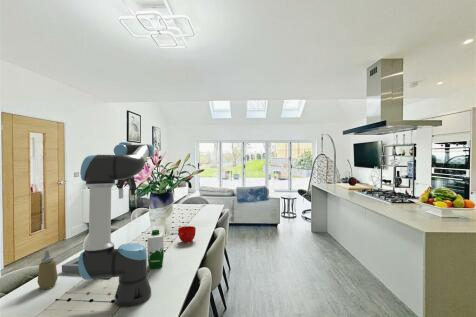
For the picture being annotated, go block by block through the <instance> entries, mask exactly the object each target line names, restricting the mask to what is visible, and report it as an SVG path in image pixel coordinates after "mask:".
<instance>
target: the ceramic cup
mask: <svg viewBox="0 0 476 317" xmlns="http://www.w3.org/2000/svg"><path fill="white" fill-rule="evenodd" d="M196 230H197V229H196V227H195V226H192V225H191V226H190V225H186V226H181V227H178V229H177V234H178V239H180V241H181V243H183V242H184V243H183V244H189V243H188V242H190V243H192V242H193V240H194V239H195V237H196ZM191 241H192V242H191Z"/></svg>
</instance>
